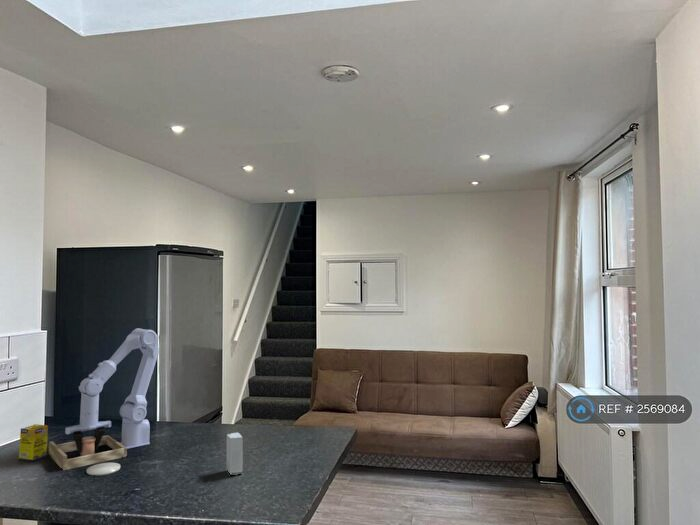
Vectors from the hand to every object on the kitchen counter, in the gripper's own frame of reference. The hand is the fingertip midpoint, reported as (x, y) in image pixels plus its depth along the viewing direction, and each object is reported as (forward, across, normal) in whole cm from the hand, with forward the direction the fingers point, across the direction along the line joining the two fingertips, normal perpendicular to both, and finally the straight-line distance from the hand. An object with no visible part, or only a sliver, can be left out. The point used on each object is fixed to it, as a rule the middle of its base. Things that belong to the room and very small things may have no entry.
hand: (87, 450), depth 174 cm
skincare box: (+2, +31, -48) cm, 57 cm away
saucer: (+2, 0, -18) cm, 18 cm away
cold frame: (+2, 0, 0) cm, 2 cm away
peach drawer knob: (+2, 0, 0) cm, 2 cm away
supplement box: (+2, -15, +9) cm, 18 cm away
